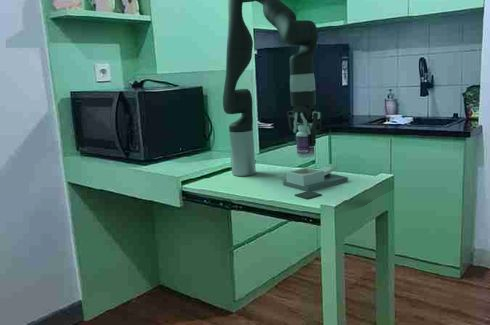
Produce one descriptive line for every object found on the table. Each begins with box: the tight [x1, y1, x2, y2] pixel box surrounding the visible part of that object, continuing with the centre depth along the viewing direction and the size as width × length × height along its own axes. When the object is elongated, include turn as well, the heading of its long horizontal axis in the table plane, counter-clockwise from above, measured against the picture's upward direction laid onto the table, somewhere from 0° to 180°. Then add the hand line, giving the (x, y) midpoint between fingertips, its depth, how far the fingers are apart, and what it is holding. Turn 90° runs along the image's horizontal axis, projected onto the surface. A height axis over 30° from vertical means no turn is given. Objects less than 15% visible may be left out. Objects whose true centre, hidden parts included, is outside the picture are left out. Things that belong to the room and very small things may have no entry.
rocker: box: [318, 163, 339, 176], centre depth 157 cm, size 4×8×1 cm, turn 123°
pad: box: [294, 191, 323, 200], centre depth 140 cm, size 6×6×1 cm
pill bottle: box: [295, 125, 315, 159], centre depth 137 cm, size 5×5×10 cm
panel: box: [282, 167, 349, 192], centre depth 155 cm, size 13×18×5 cm
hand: (305, 145), depth 137 cm, fingers closed on pill bottle, 5 cm apart
